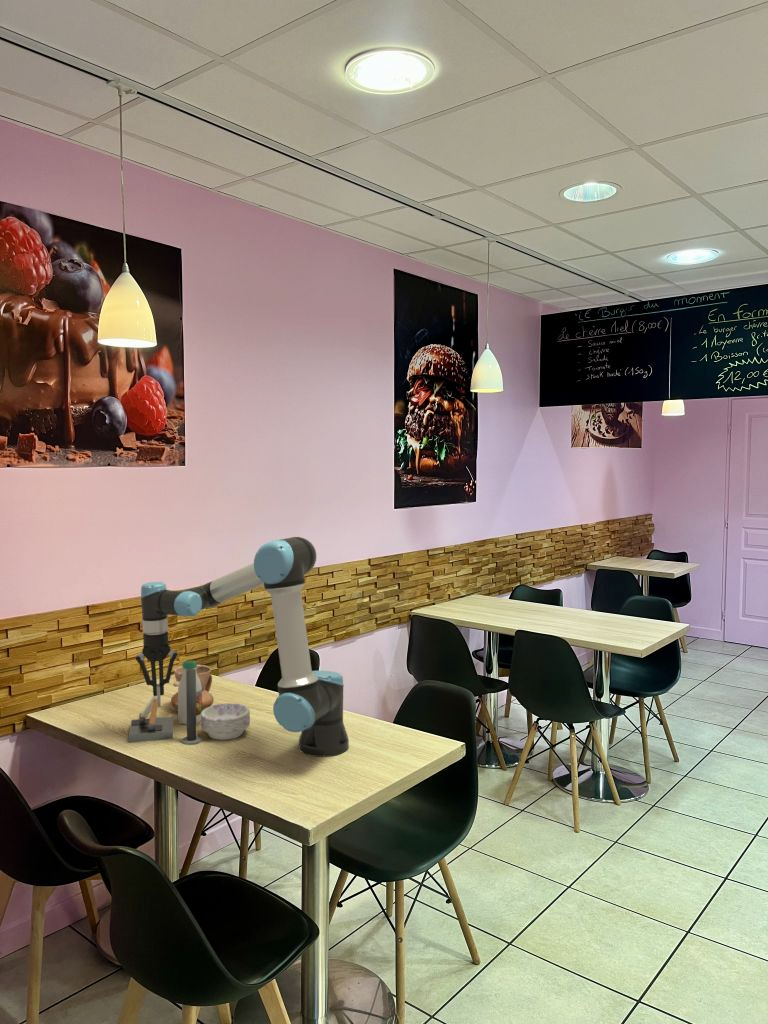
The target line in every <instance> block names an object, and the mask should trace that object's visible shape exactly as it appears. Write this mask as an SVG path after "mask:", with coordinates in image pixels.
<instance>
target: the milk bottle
mask: <svg viewBox="0 0 768 1024" xmlns="http://www.w3.org/2000/svg"><path fill="white" fill-rule="evenodd" d="M197 665H198V662H197V661H195V660H185V661H183V662H182V666H183V675H182V678H181V680H180V682H179V686H177V690H178V691H177V692H178V710H177V714H178V715H177V721H178V723H179V724H181V725H185V726H187V691H186V670H188V669H195V670H196V669H197ZM202 711H203V710H202V686H201V682H200V679H199V677H198V675H197V672H196V725H197V724H199V723H201V712H202Z"/></svg>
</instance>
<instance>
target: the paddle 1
mask: <svg viewBox="0 0 768 1024" xmlns="http://www.w3.org/2000/svg"><path fill="white" fill-rule="evenodd" d="M153 699H157V696H154V695H152V697H151V698H150V700H149V701H148V703H147V705H146V706H145V707H144V709H143V711H142V712H141V713H139V716H138V719H139V722H140V723H144V722H145V719H148V716H150V714H151V709H152V704H153Z"/></svg>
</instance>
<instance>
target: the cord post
mask: <svg viewBox="0 0 768 1024" xmlns="http://www.w3.org/2000/svg"><path fill="white" fill-rule="evenodd" d="M186 691H187V725H186V737H183V738H181V743H182V744H183V745H187V746H191V745H192V746H193V745H197V744H199V743H201V742H202V740H203V739H202V737H201V736H199V735H197V724H196V670H195V669H188V670H186Z"/></svg>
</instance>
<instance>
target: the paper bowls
mask: <svg viewBox="0 0 768 1024" xmlns="http://www.w3.org/2000/svg"><path fill="white" fill-rule="evenodd" d="M250 712H251V711H250V708H249V706H247V705H244V704H242V703H241V704H240V703H233V702H231V703H217V704H212V705H211V706H210V707H207V708H205V709H204V710H202V712H201V722H200V729H201V730H202V731H204V732H206V733H207V735H208V736H209V737H210V738H211V739H212V740H213V739H214V740H220V741H228V740H232V739H236V738H238V737H240V736H241V735H242V734H243V733H244V730H246V729H247V728H249V727H250V726H251V725H250V724H251V714H250Z"/></svg>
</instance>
